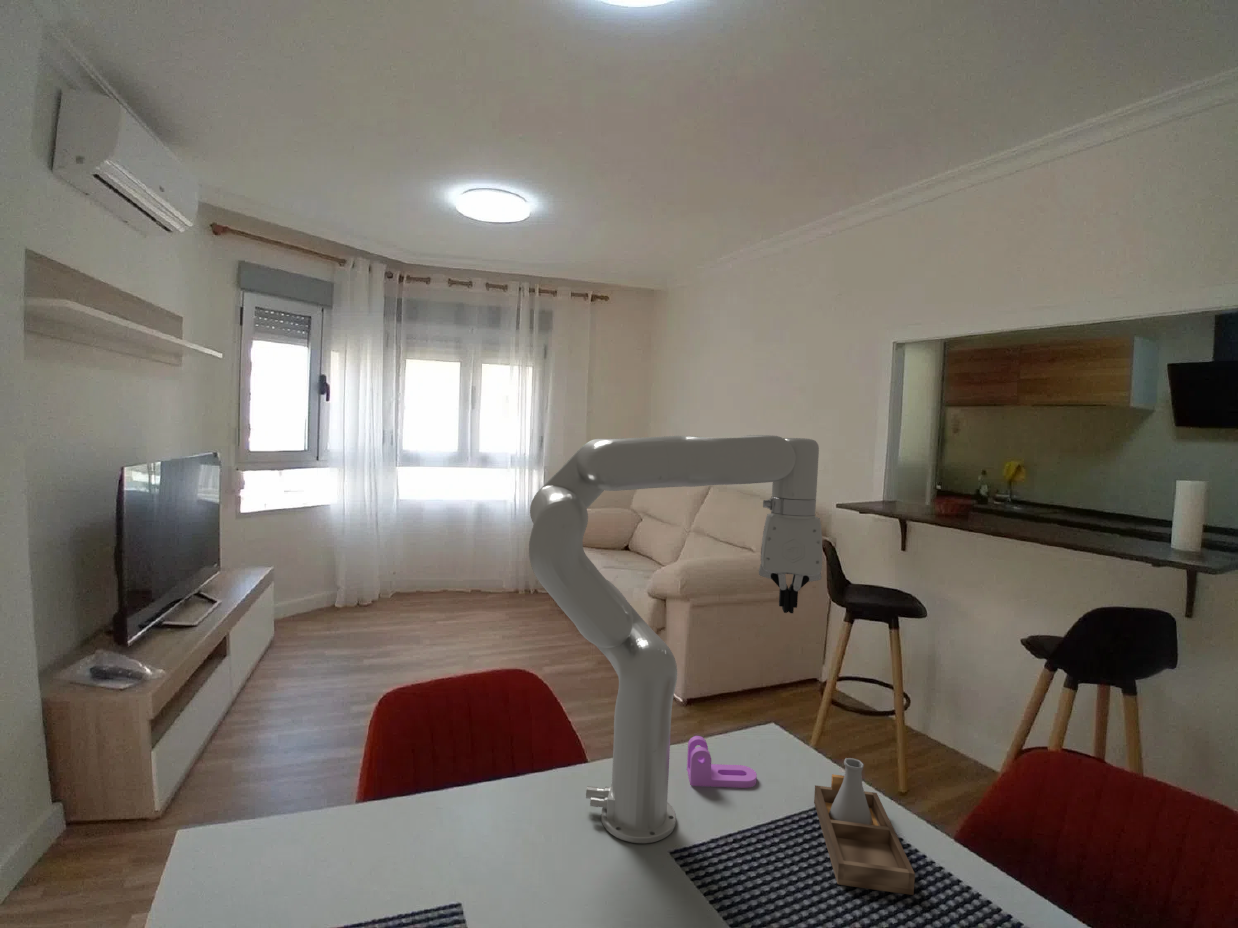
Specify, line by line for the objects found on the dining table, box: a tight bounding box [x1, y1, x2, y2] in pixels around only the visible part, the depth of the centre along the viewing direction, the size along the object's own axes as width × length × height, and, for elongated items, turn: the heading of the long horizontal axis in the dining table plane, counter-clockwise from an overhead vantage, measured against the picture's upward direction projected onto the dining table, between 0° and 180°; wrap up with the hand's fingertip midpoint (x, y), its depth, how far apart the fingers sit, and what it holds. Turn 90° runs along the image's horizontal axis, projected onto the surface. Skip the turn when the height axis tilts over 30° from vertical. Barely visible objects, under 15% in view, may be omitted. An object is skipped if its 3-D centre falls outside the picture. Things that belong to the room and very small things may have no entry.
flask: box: [829, 757, 873, 825], centre depth 103 cm, size 7×7×10 cm
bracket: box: [686, 735, 758, 789], centre depth 116 cm, size 13×6×7 cm, turn 91°
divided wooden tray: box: [813, 773, 916, 896], centre depth 98 cm, size 11×20×6 cm, turn 171°
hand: (787, 610), depth 107 cm, fingers closed
